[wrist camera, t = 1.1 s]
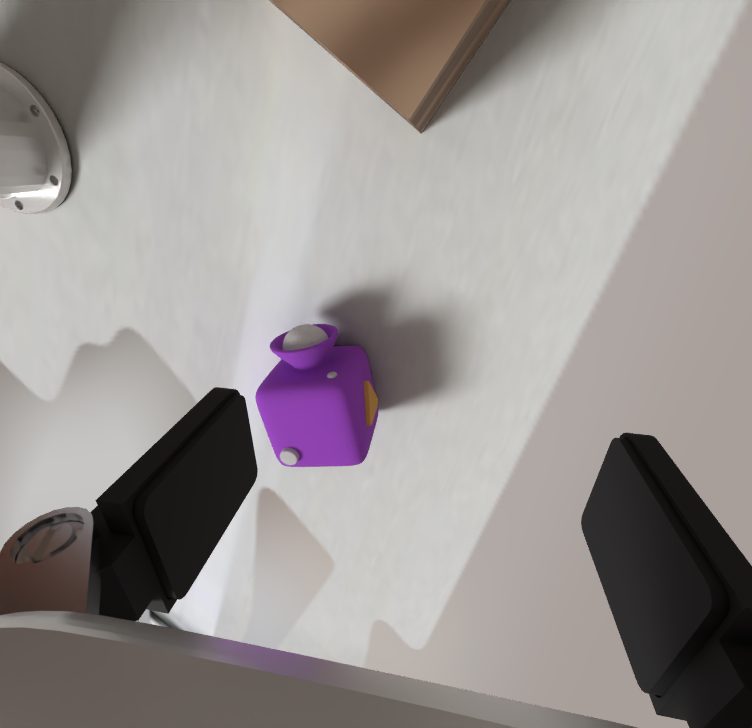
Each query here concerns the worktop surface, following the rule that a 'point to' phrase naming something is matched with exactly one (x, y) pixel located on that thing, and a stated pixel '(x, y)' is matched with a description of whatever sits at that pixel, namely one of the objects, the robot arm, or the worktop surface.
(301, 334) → the toy camera
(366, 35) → the cabinet
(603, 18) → the worktop surface
